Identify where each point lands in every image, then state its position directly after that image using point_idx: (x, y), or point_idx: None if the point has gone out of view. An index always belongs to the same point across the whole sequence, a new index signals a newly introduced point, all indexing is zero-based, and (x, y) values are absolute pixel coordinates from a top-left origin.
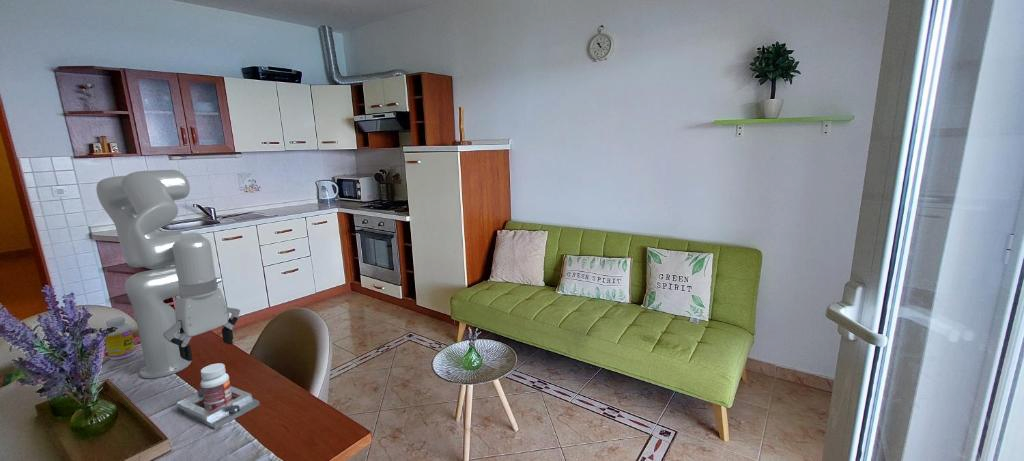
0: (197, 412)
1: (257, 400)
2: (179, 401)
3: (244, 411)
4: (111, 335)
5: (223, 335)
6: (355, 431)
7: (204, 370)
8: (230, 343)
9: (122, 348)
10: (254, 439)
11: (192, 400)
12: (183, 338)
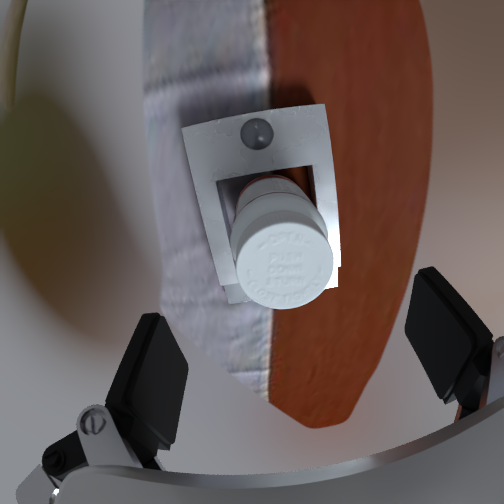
0: (209, 244)
1: (337, 281)
2: (189, 126)
3: None
4: None
5: (442, 319)
6: (347, 418)
7: (251, 264)
8: (409, 335)
9: None
10: (266, 369)
11: (218, 154)
12: (125, 456)
